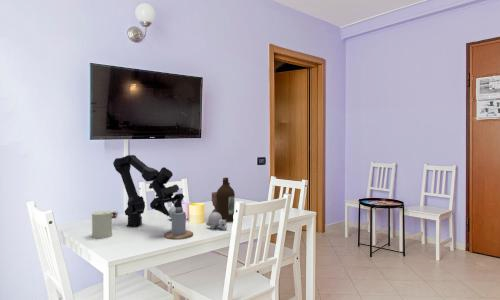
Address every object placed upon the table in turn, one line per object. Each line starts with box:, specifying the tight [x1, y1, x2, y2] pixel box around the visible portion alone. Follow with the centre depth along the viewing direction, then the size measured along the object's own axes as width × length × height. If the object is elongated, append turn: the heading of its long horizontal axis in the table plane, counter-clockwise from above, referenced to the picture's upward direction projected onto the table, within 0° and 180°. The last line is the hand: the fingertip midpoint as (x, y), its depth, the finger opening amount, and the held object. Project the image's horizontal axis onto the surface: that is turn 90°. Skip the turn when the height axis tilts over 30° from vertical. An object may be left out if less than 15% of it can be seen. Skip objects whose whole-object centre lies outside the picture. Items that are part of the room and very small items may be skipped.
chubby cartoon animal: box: [205, 212, 228, 231], centre depth 191 cm, size 7×12×8 cm, turn 55°
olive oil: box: [216, 177, 236, 223], centre depth 210 cm, size 11×11×25 cm
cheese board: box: [163, 229, 194, 240], centre depth 178 cm, size 14×14×4 cm
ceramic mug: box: [168, 205, 176, 219], centre depth 211 cm, size 11×8×8 cm
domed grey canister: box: [171, 206, 187, 236], centre depth 178 cm, size 7×7×13 cm
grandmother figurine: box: [112, 210, 119, 218], centre depth 214 cm, size 8×4×13 cm
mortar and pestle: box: [211, 181, 231, 213], centre depth 230 cm, size 12×9×20 cm
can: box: [91, 210, 113, 239], centre depth 176 cm, size 9×9×12 cm
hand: (175, 214), depth 179 cm, fingers open, 9 cm apart
